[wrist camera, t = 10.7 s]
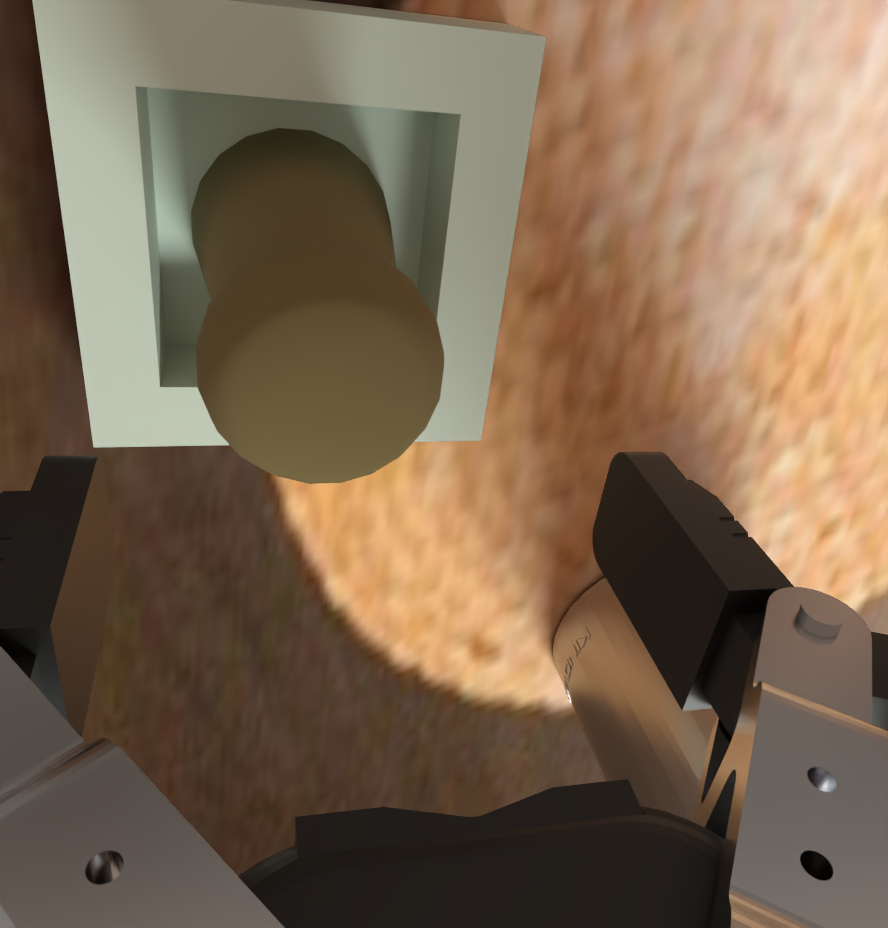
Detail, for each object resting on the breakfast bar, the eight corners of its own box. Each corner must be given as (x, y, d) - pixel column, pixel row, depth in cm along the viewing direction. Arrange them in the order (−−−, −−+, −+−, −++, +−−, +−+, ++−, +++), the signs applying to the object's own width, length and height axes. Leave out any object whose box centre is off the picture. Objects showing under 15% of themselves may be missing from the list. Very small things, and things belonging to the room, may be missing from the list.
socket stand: (507, 23, 23) (546, 36, 20) (456, 391, 30) (480, 440, 27) (56, -30, 20) (29, -23, 17) (107, 392, 27) (93, 447, 24)
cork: (169, 137, 22) (132, 274, 14) (382, 118, 23) (478, 236, 15) (212, 335, 26) (205, 550, 17) (397, 311, 27) (482, 502, 18)
